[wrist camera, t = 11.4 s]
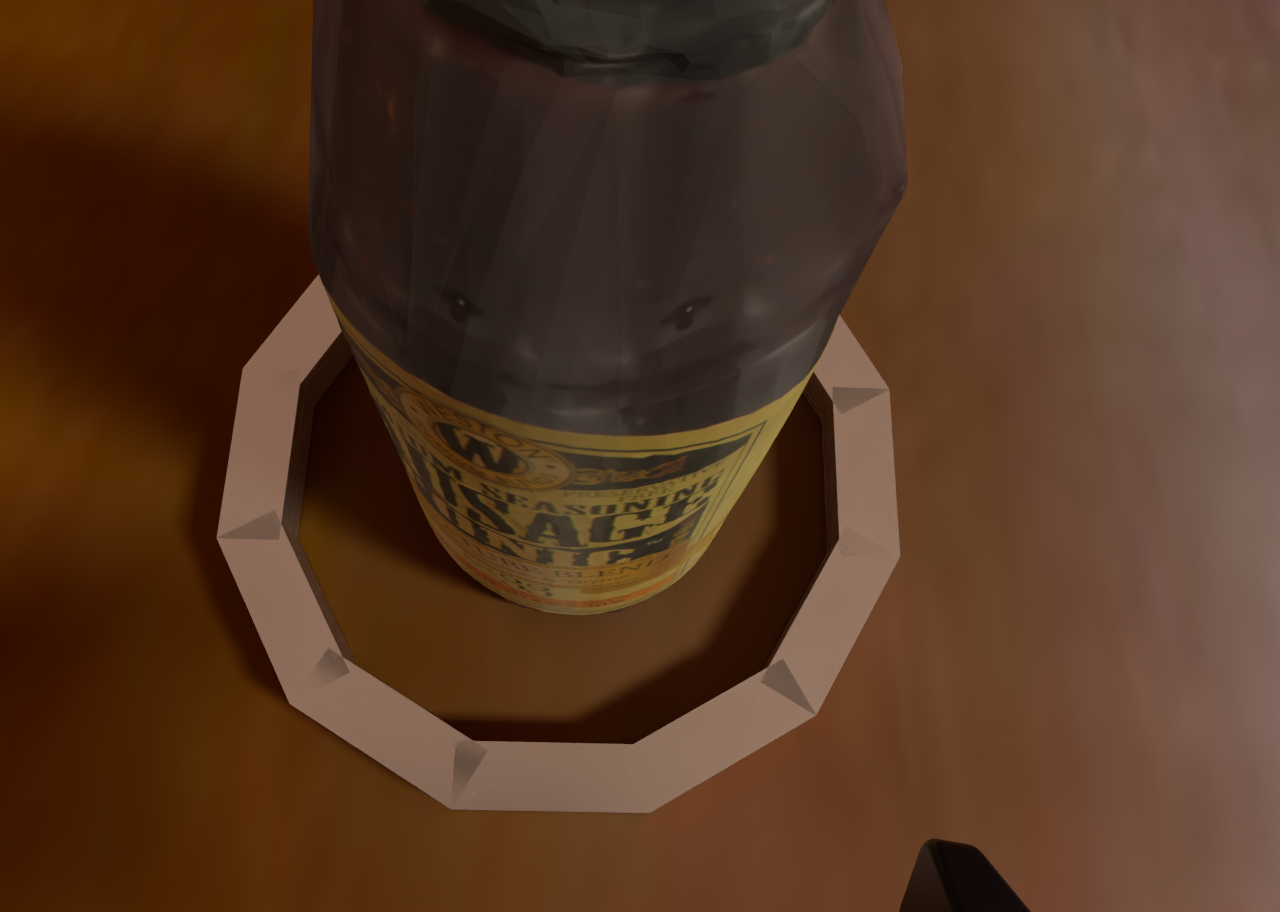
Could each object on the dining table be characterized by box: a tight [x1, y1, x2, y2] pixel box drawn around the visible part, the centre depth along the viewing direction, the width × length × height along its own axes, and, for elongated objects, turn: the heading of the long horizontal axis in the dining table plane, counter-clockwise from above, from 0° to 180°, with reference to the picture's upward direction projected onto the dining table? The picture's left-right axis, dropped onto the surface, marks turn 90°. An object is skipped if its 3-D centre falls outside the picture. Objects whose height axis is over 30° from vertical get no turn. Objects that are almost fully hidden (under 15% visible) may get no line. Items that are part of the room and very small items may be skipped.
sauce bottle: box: [308, 0, 908, 615], centre depth 13 cm, size 7×6×20 cm
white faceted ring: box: [217, 275, 900, 813], centre depth 22 cm, size 13×13×1 cm
